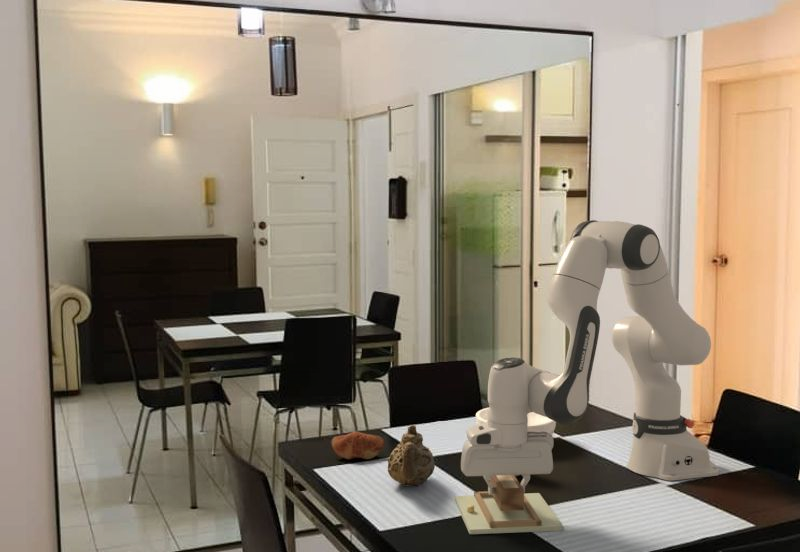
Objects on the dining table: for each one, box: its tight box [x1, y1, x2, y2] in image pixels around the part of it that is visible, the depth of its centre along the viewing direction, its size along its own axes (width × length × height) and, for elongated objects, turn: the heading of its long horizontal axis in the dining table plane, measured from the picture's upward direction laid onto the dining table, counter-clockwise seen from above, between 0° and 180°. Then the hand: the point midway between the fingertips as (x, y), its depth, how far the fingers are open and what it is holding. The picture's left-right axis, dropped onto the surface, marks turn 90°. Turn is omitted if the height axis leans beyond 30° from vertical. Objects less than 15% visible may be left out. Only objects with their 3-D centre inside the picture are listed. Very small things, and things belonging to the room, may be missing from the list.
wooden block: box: [489, 475, 524, 511], centre depth 195 cm, size 5×12×5 cm, turn 6°
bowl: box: [475, 407, 557, 436], centre depth 248 cm, size 22×22×8 cm
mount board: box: [454, 490, 564, 535], centre depth 196 cm, size 20×20×2 cm
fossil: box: [330, 430, 385, 461], centre depth 237 cm, size 13×8×10 cm
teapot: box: [387, 424, 436, 488], centre depth 214 cm, size 21×12×15 cm, turn 178°
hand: (506, 493), depth 195 cm, fingers closed on wooden block, 5 cm apart
